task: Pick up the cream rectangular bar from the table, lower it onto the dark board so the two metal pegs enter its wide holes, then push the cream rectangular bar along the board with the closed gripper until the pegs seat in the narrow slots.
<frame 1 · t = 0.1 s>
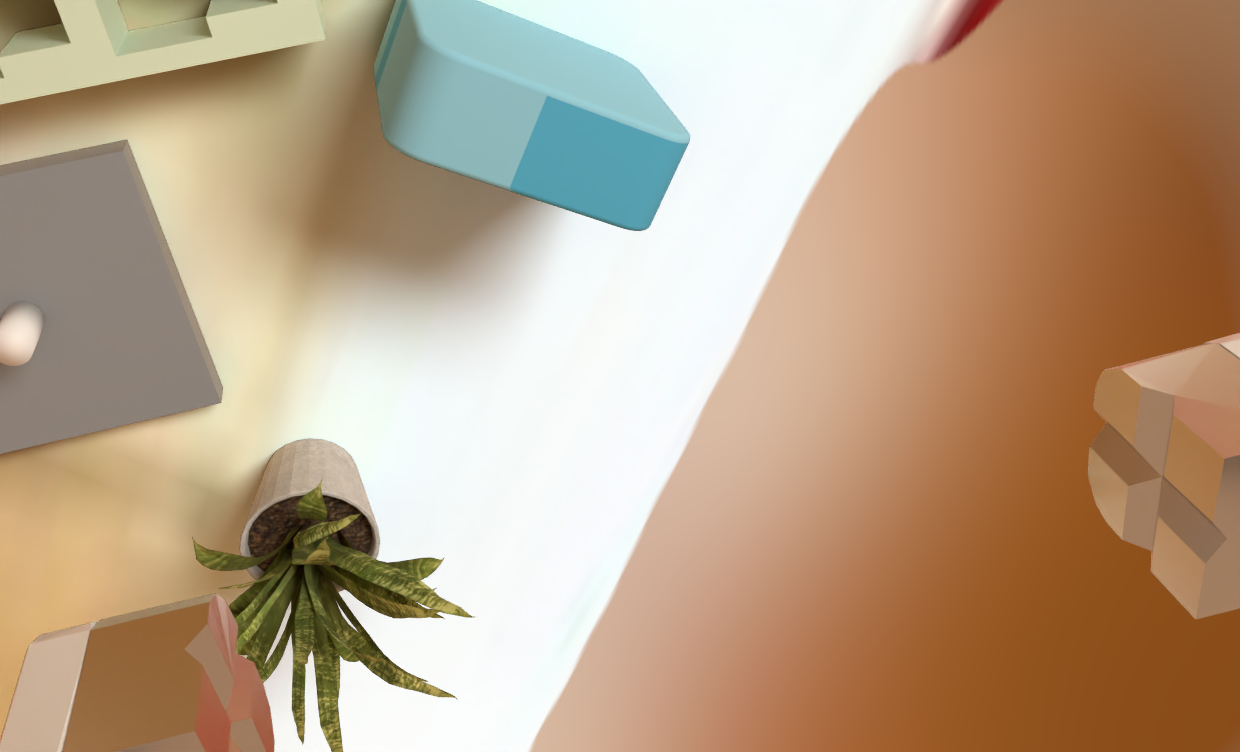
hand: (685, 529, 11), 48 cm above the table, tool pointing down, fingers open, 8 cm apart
house plant: (303, 493, 67), on the table
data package: (505, 60, 57), on the table
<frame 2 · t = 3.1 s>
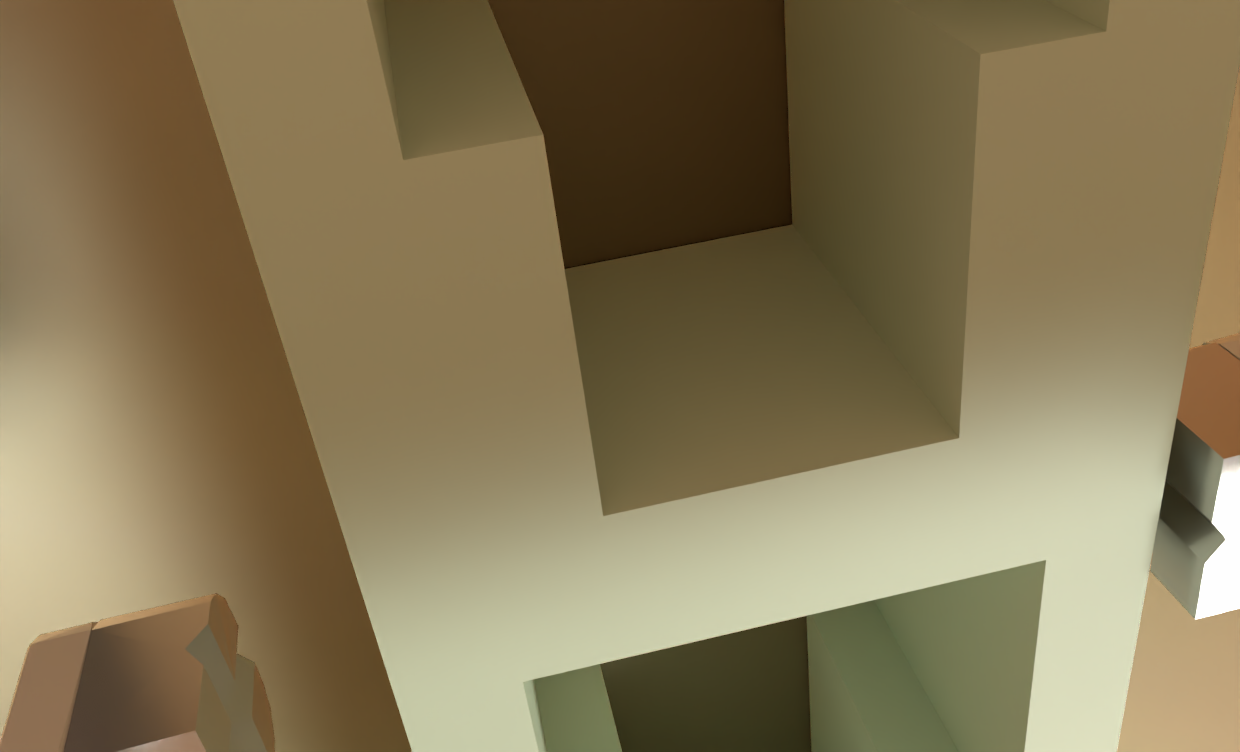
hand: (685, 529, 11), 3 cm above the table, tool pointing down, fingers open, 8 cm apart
cream rectangular bar: (669, 311, 13), on the table
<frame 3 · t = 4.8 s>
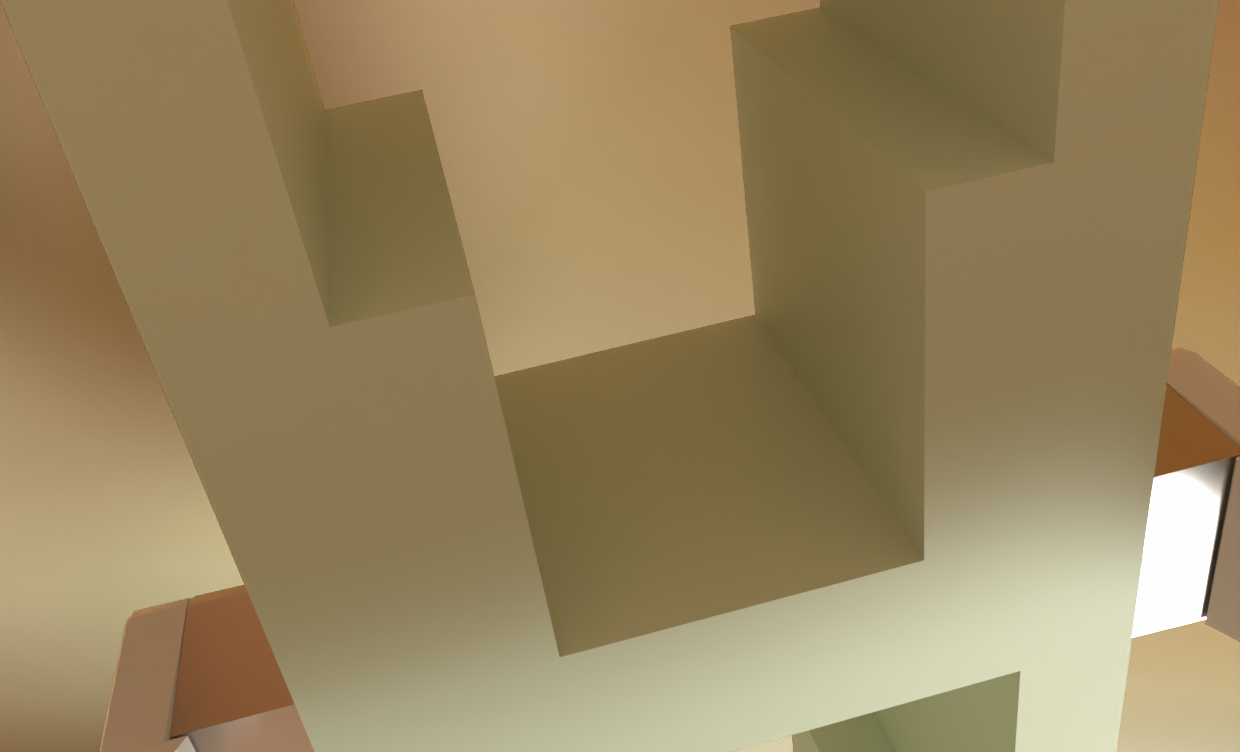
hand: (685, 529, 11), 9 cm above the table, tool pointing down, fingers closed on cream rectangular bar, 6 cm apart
cream rectangular bar: (633, 405, 12), point 7 cm above the table, touching gripper
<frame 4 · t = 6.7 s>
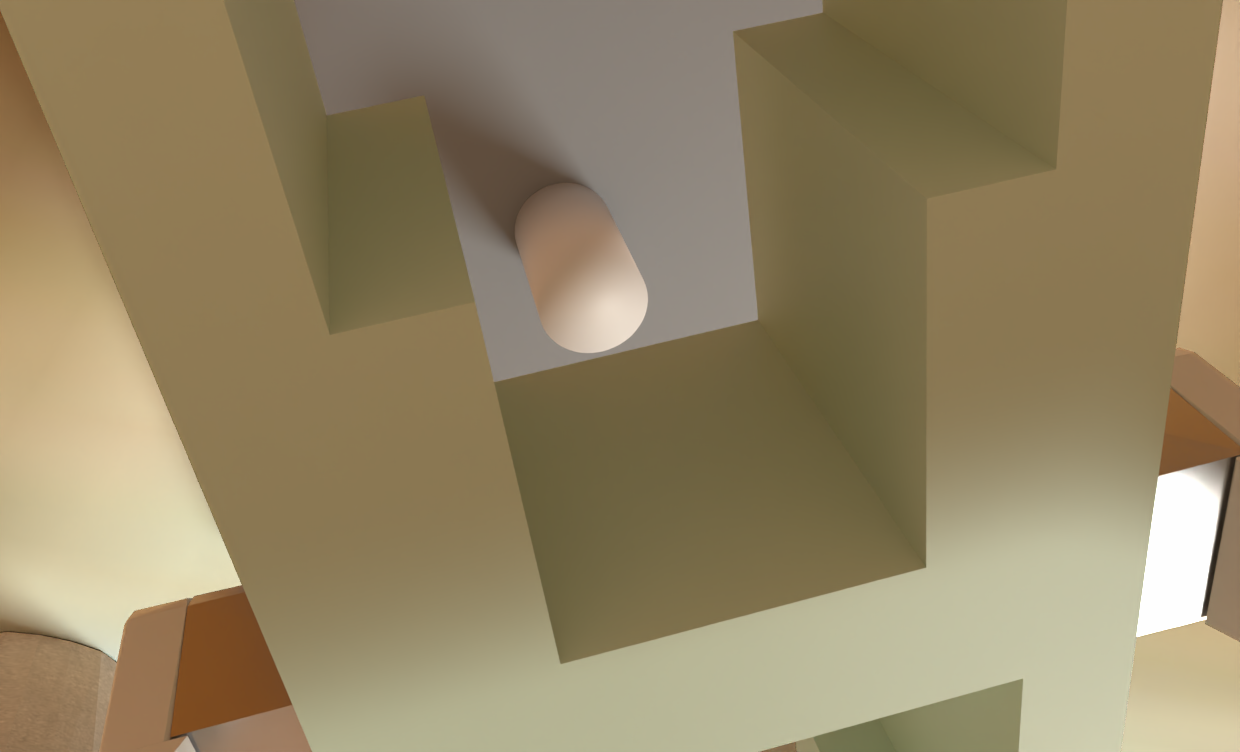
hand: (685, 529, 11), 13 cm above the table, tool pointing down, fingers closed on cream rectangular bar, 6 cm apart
cream rectangular bar: (636, 411, 12), point 11 cm above the table, touching gripper
when the fingers open (4 cm above the table, at t = 8.6 s): cream rectangular bar stays where it is, resting on boss board.
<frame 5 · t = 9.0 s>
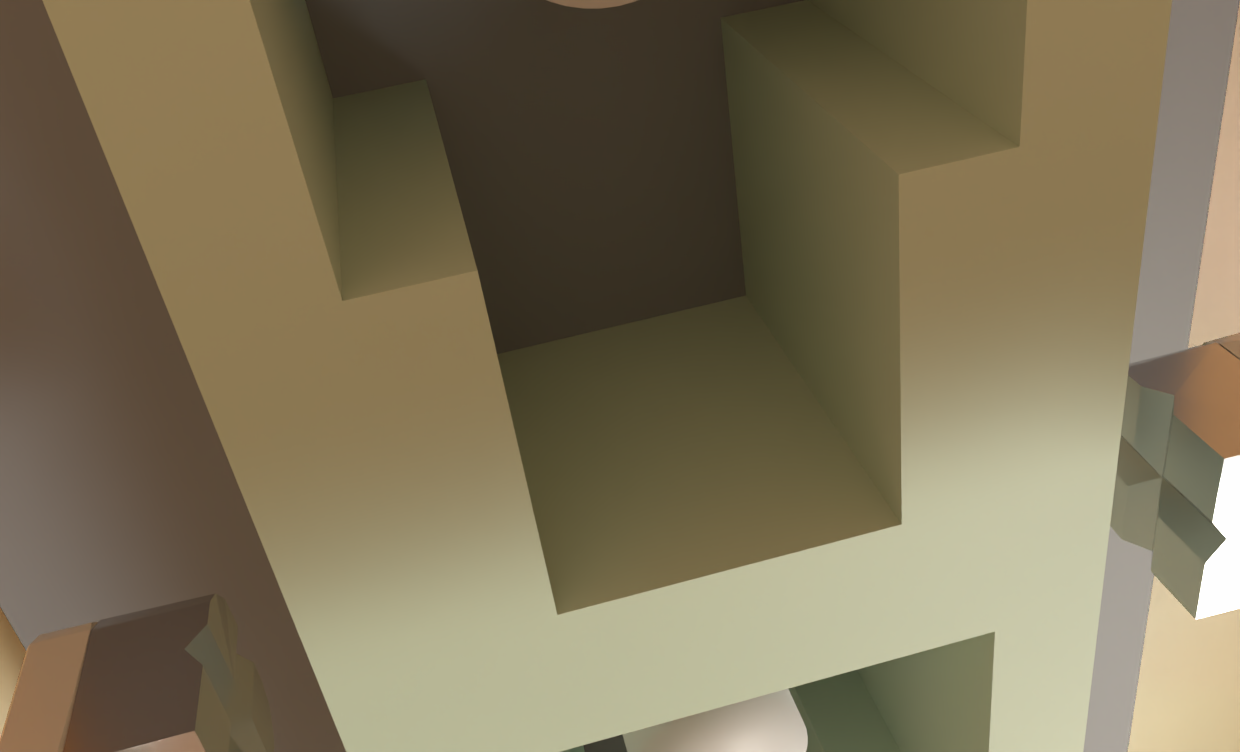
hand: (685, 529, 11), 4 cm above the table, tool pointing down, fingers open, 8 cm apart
cream rectangular bar: (629, 383, 13), point 1 cm above the table, touching boss board
boss board: (548, 66, 12), on the table
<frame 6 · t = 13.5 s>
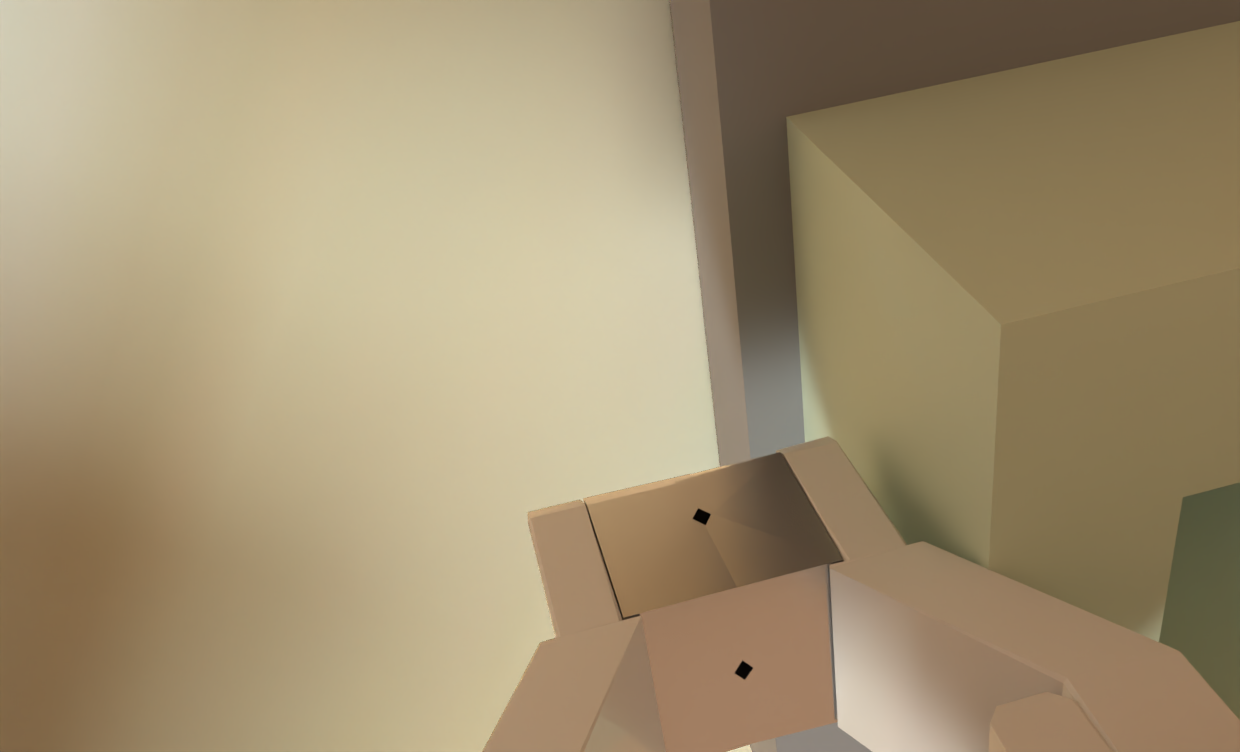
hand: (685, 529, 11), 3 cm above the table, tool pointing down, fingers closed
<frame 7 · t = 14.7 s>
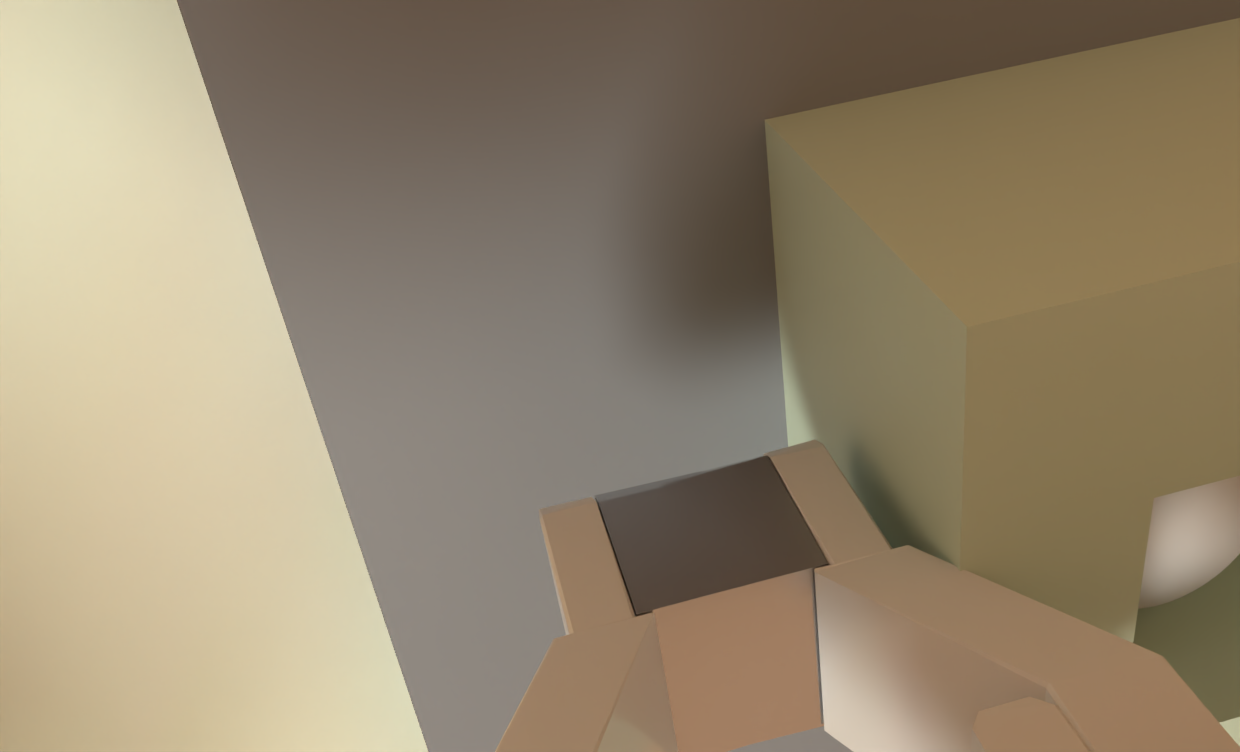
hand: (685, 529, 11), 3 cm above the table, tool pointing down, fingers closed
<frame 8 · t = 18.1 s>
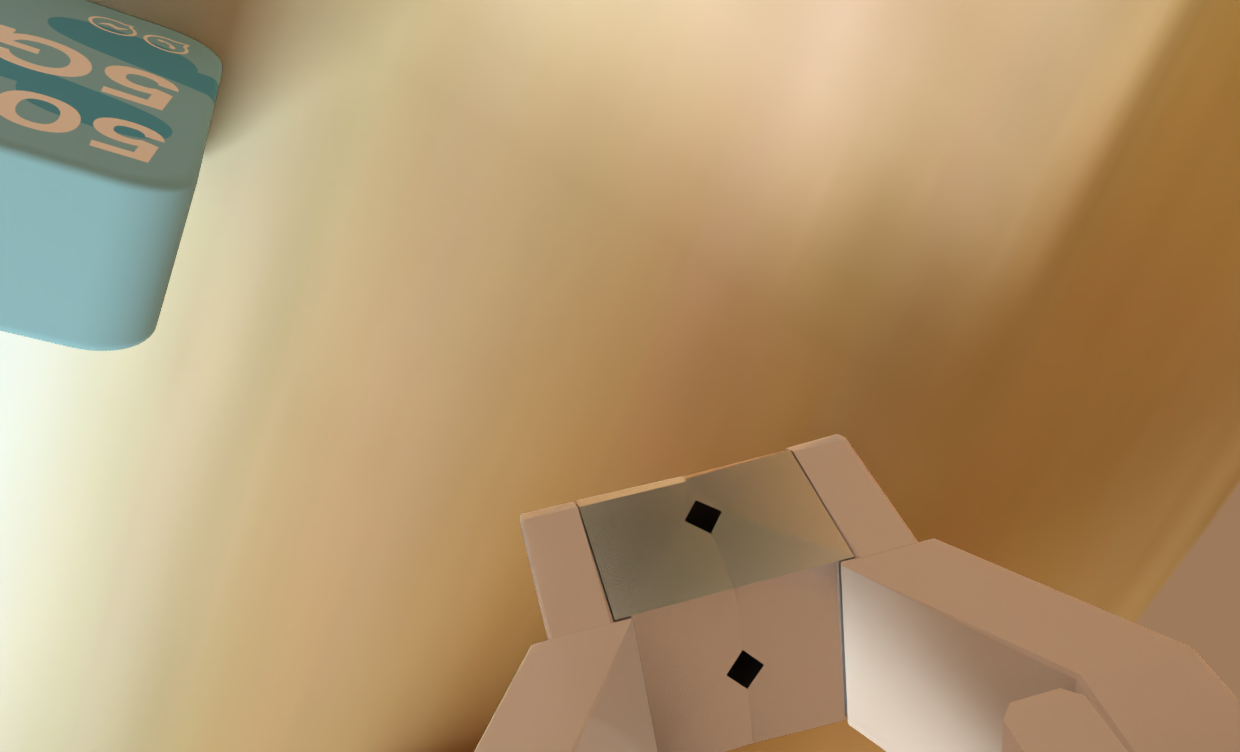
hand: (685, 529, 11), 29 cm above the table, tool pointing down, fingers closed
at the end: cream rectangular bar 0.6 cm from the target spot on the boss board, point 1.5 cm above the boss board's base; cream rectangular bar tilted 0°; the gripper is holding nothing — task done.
